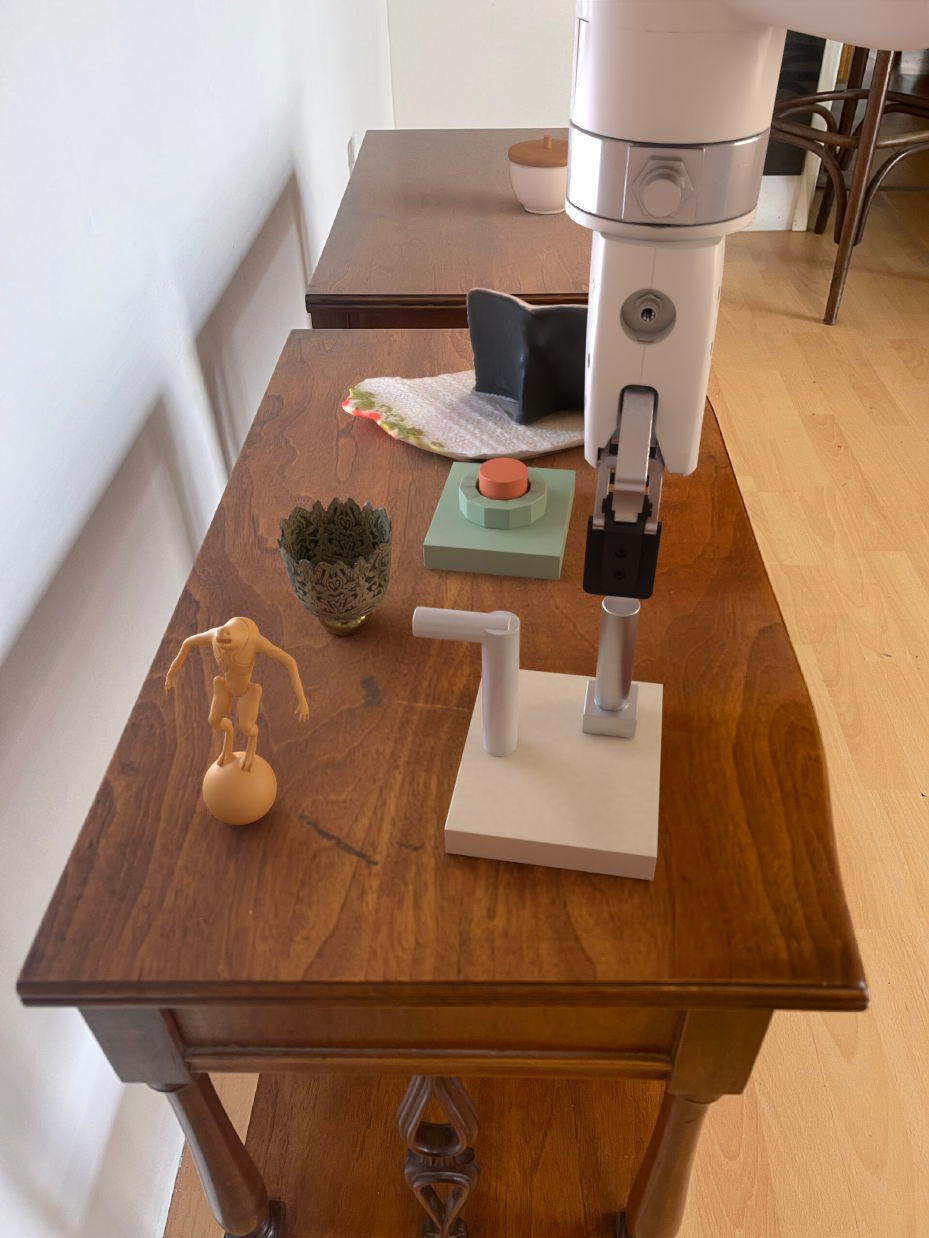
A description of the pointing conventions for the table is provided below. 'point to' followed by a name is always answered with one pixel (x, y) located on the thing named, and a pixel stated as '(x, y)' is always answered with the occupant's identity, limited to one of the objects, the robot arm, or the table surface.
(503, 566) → the button block
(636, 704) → the tap lever
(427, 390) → the religious ornament
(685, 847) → the table surface
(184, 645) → the figurine
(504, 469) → the button
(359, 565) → the cup
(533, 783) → the tap base
